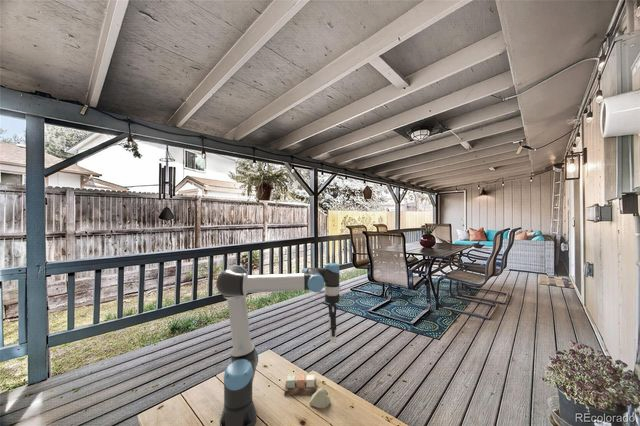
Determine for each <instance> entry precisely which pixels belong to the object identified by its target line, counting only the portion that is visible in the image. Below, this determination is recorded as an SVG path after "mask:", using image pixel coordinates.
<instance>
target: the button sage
mask: <svg viewBox="0 0 640 426" xmlns="http://www.w3.org/2000/svg"><path fill="white" fill-rule="evenodd" d="M286 377H287V378H286V381H287V389H288V388H295V380H296V375H294V374H293V375H287V376H286Z"/></svg>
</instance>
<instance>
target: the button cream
mask: <svg viewBox="0 0 640 426" xmlns="http://www.w3.org/2000/svg"><path fill="white" fill-rule="evenodd" d="M305 380H306V381H307V386H306V388H315V386H314V380H315V374H306V379H305Z"/></svg>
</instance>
